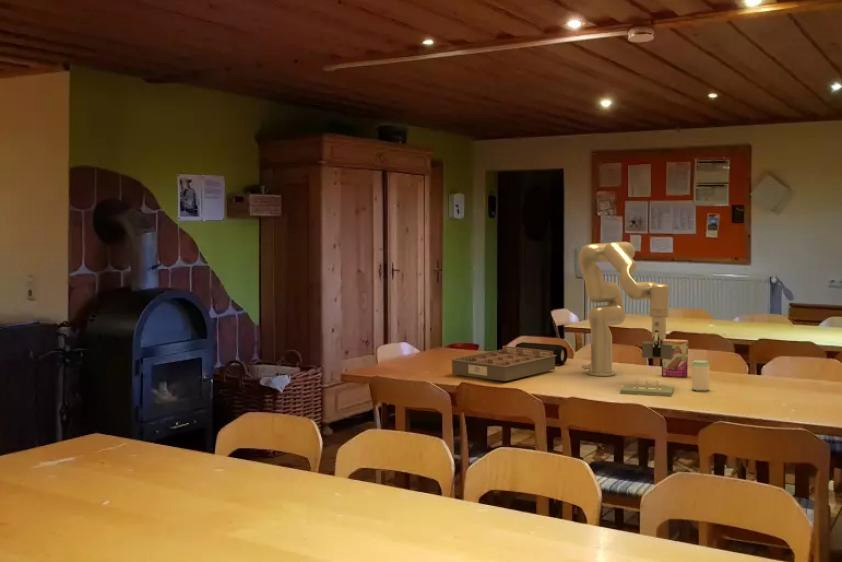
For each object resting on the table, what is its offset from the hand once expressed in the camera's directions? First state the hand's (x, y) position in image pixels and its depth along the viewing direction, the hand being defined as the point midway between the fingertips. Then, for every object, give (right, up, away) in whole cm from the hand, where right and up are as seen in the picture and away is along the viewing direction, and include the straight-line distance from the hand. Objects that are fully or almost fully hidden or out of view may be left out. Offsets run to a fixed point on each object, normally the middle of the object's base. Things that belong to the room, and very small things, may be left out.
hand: (657, 354), depth 362 cm
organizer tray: (-61, -12, +36) cm, 72 cm away
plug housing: (0, -1, 0) cm, 1 cm away
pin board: (-7, -14, -12) cm, 20 cm away
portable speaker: (-40, -10, +65) cm, 77 cm away
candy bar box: (+14, -12, +23) cm, 29 cm away
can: (+15, -14, -9) cm, 23 cm away
